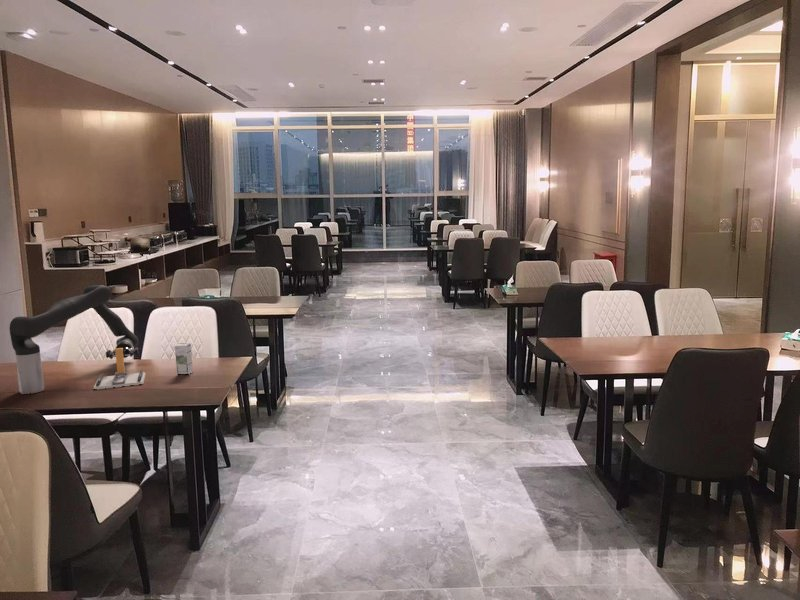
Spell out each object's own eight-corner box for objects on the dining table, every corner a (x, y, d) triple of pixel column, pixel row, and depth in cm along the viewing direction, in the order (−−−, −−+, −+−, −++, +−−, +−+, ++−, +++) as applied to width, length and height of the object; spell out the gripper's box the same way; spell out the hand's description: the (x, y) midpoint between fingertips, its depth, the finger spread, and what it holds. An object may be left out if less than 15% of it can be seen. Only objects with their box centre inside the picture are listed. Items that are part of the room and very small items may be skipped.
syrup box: (193, 371, 303) (191, 342, 301) (188, 375, 297) (185, 345, 295) (182, 372, 304) (179, 342, 301) (176, 375, 298) (174, 345, 296)
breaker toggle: (114, 375, 292) (112, 349, 290) (115, 373, 295) (113, 348, 293) (127, 373, 293) (124, 348, 292) (127, 372, 296) (125, 347, 295)
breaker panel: (93, 389, 278) (93, 384, 277) (99, 379, 295) (98, 374, 294) (142, 384, 284) (142, 378, 284) (145, 374, 301) (144, 369, 300)
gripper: (107, 342, 312) (103, 349, 296) (139, 339, 316) (136, 346, 301) (109, 357, 313) (105, 365, 298) (140, 354, 317) (138, 361, 302)
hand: (121, 355), depth 299 cm, fingers open, 8 cm apart
